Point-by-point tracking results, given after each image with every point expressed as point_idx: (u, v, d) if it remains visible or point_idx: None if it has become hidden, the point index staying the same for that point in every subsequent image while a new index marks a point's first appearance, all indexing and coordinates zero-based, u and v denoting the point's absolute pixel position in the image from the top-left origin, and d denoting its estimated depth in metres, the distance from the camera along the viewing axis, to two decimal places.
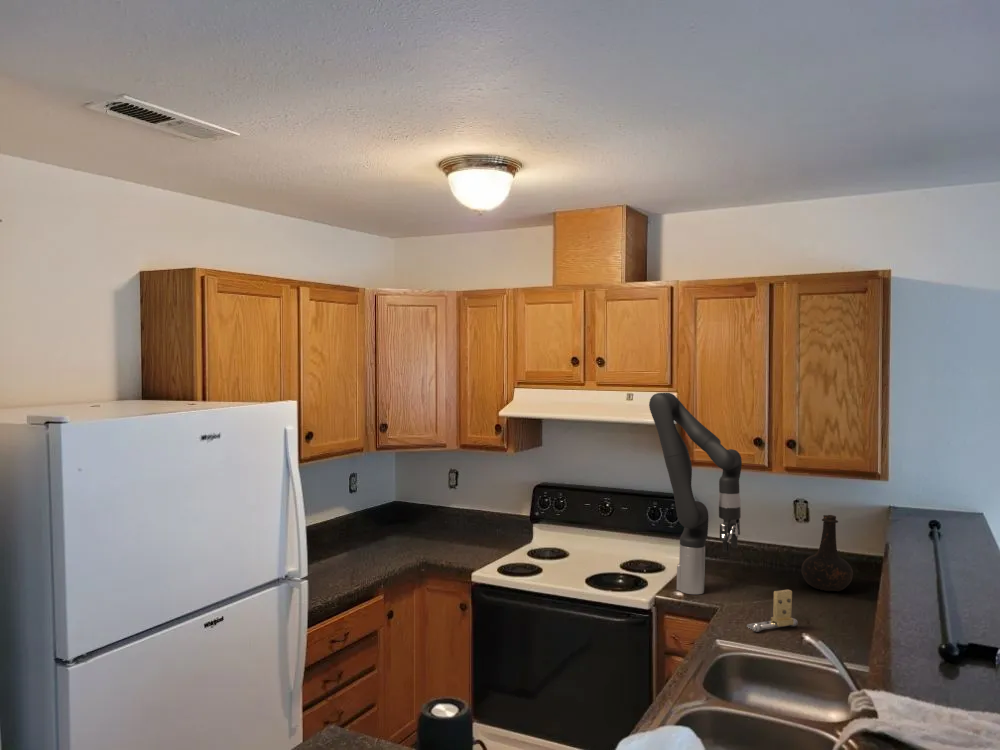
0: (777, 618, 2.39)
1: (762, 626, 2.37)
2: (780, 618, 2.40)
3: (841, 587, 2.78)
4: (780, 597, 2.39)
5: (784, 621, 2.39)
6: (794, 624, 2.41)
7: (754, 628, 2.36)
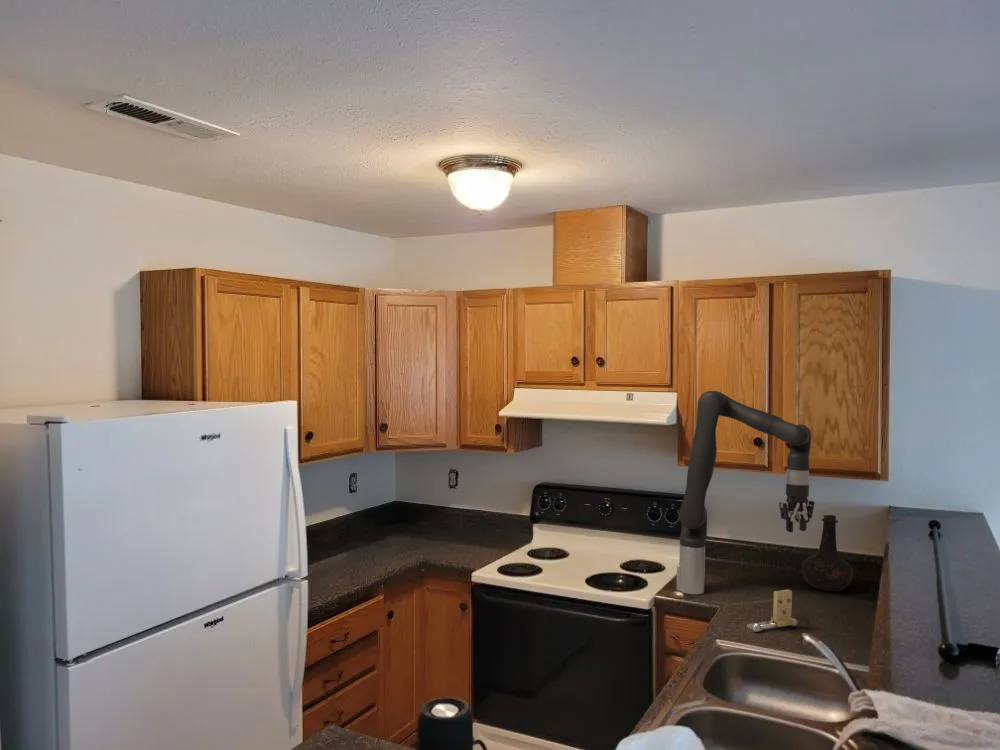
0: (777, 618, 2.39)
1: (762, 626, 2.37)
2: (780, 618, 2.40)
3: (841, 587, 2.78)
4: (780, 597, 2.39)
5: (784, 621, 2.39)
6: (794, 624, 2.41)
7: (754, 628, 2.36)
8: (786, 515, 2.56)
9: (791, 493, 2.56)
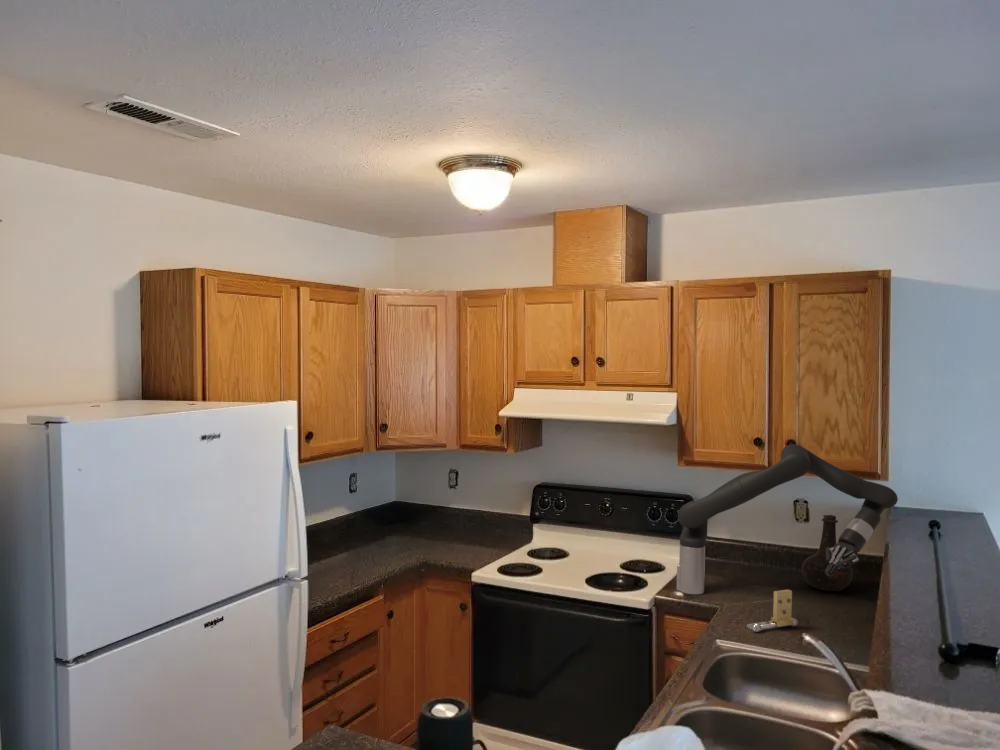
0: (777, 618, 2.39)
1: (762, 626, 2.37)
2: (780, 618, 2.40)
3: (841, 587, 2.78)
4: (780, 597, 2.39)
5: (784, 621, 2.39)
6: (794, 624, 2.41)
7: (754, 628, 2.36)
8: None
9: (860, 546, 2.48)
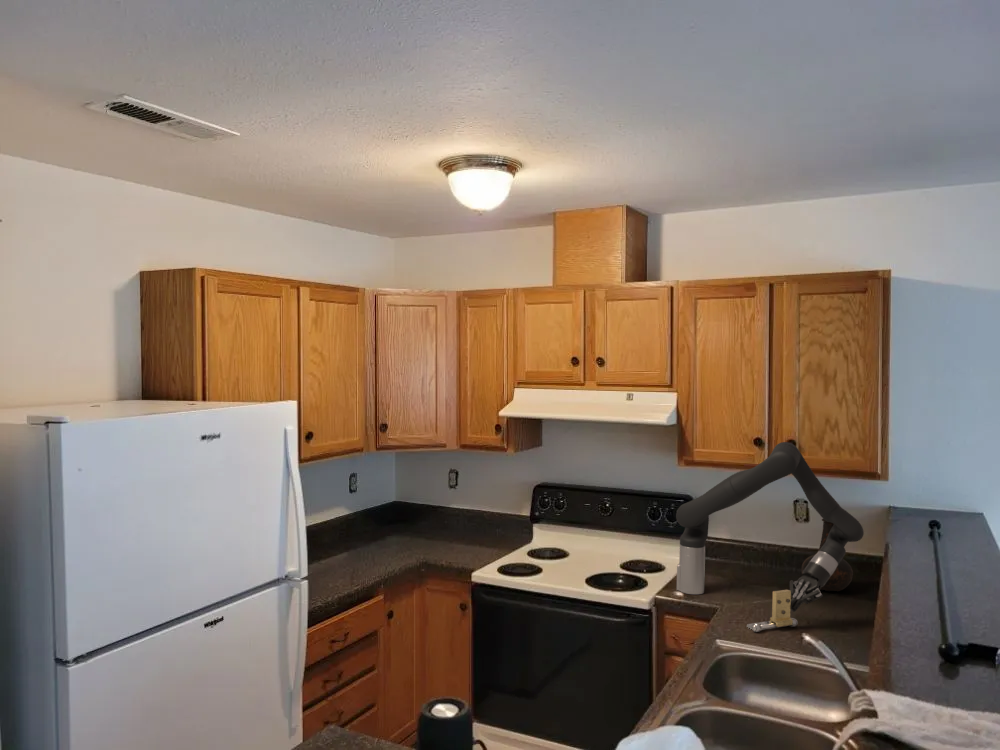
0: (776, 618, 2.39)
1: (762, 626, 2.37)
2: (779, 618, 2.39)
3: (841, 587, 2.78)
4: (779, 597, 2.39)
5: (783, 621, 2.39)
6: (794, 624, 2.41)
7: (754, 628, 2.36)
8: None
9: (824, 581, 2.42)
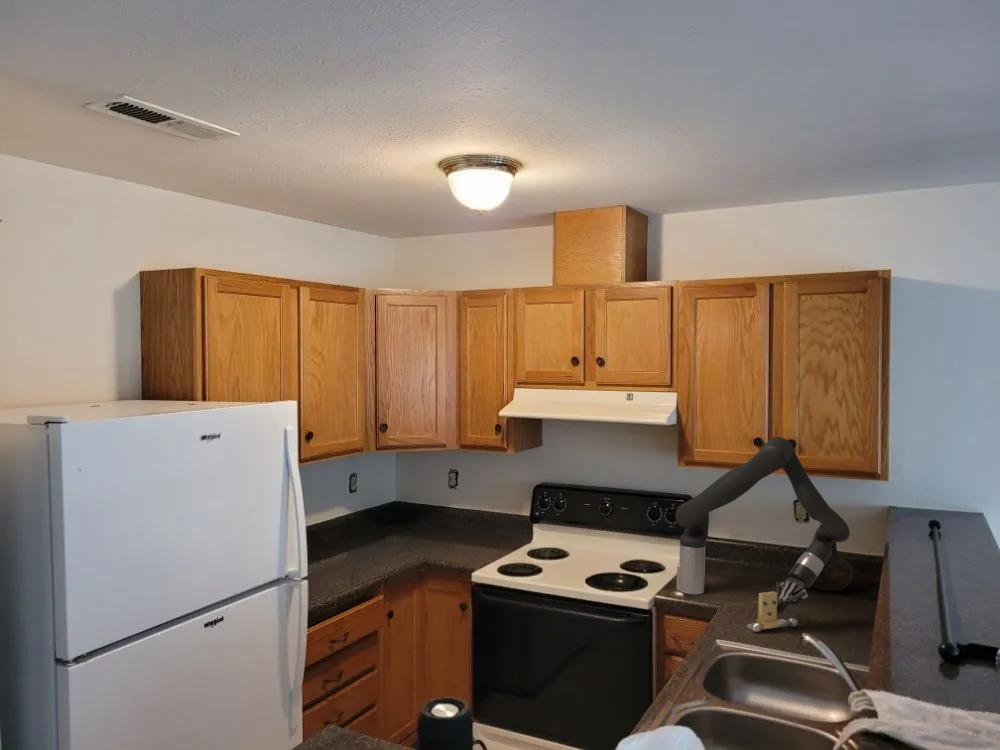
0: (762, 620, 2.37)
1: None
2: (765, 620, 2.37)
3: (841, 587, 2.78)
4: (765, 599, 2.37)
5: (769, 623, 2.37)
6: (794, 624, 2.41)
7: (754, 628, 2.36)
8: None
9: (811, 582, 2.40)
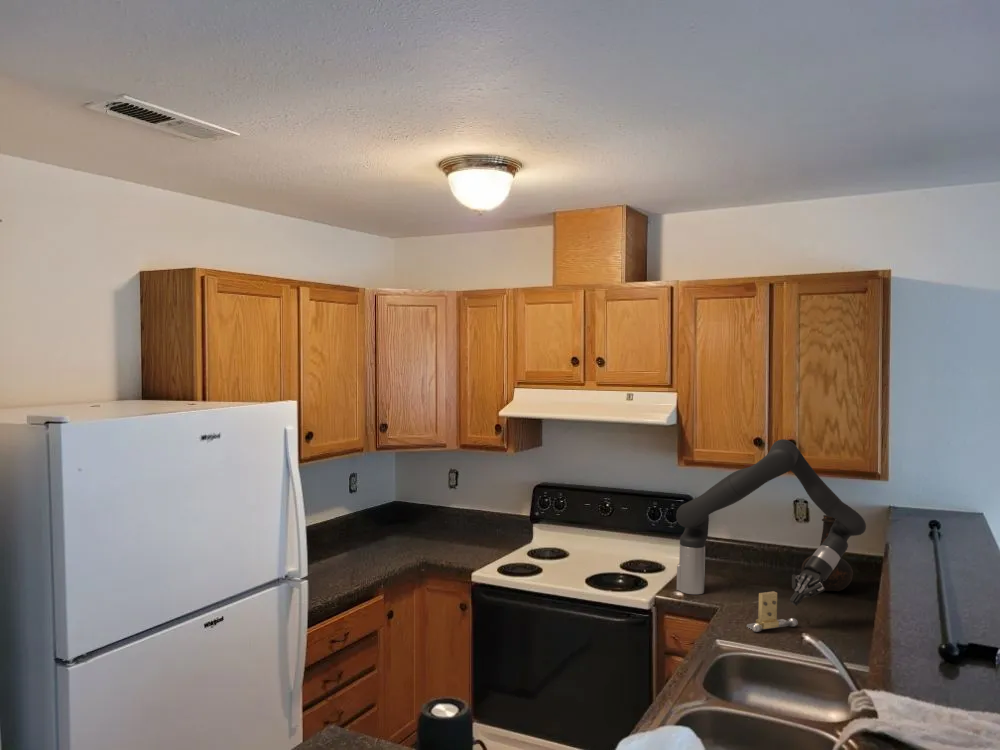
0: (762, 620, 2.37)
1: None
2: (765, 620, 2.37)
3: (841, 587, 2.78)
4: (765, 599, 2.37)
5: (769, 623, 2.37)
6: (794, 624, 2.41)
7: (754, 628, 2.36)
8: None
9: (827, 575, 2.42)
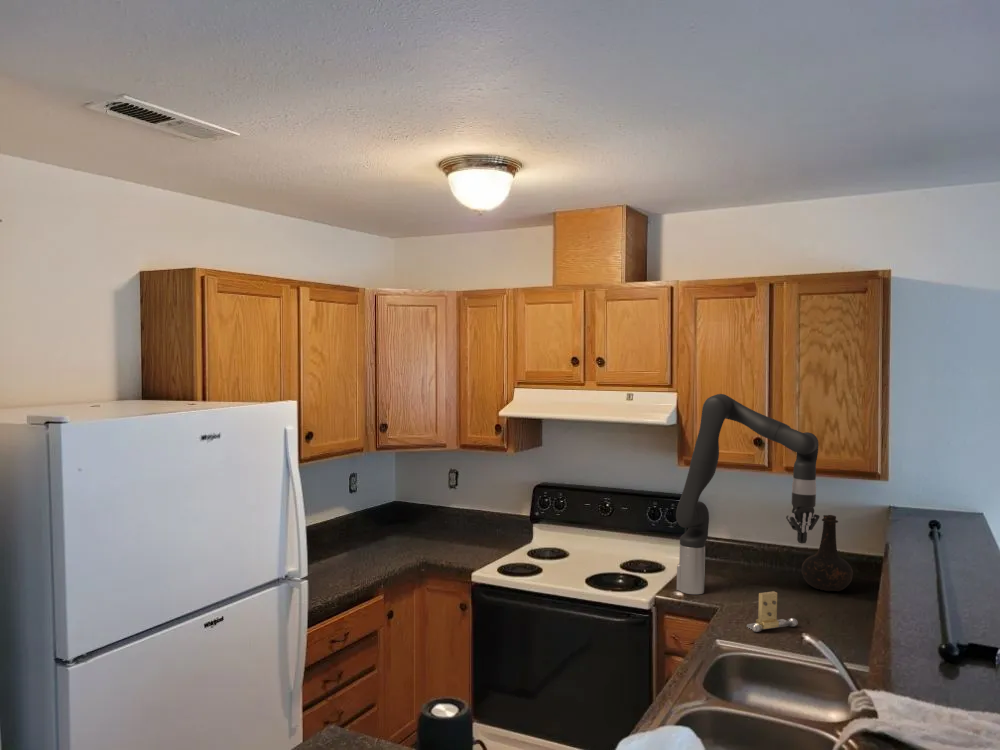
0: (762, 620, 2.37)
1: None
2: (765, 620, 2.37)
3: (841, 587, 2.78)
4: (765, 599, 2.37)
5: (769, 623, 2.37)
6: (794, 624, 2.41)
7: (754, 628, 2.36)
8: (797, 527, 2.50)
9: (797, 502, 2.50)
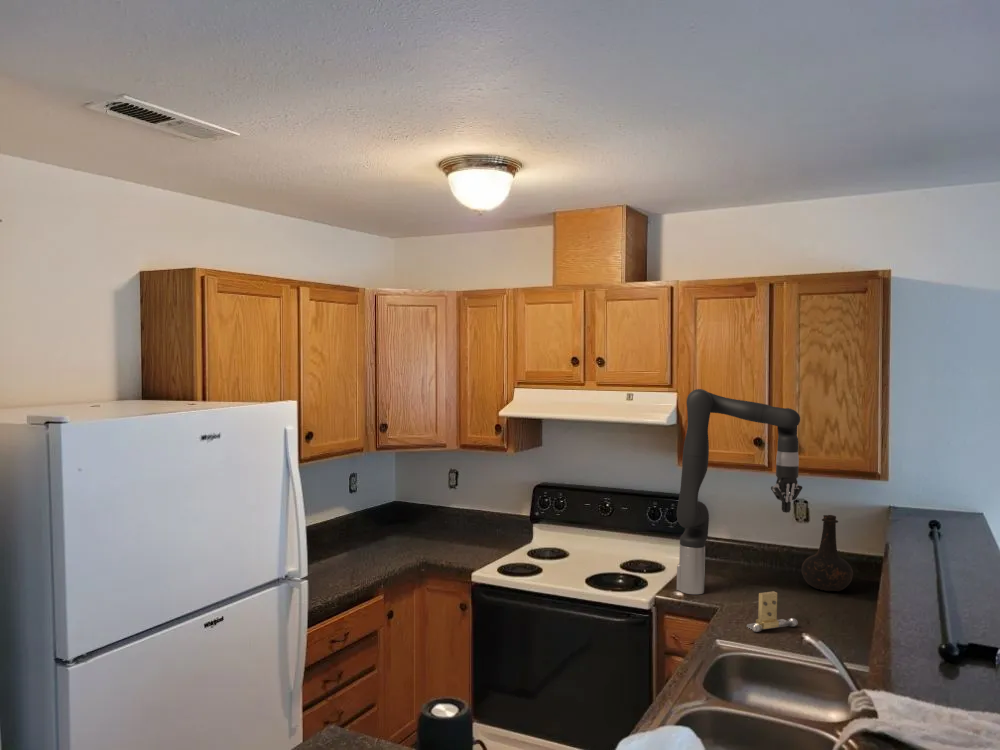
0: (762, 620, 2.37)
1: None
2: (765, 620, 2.37)
3: (841, 587, 2.78)
4: (765, 599, 2.37)
5: (769, 623, 2.37)
6: (794, 624, 2.41)
7: (754, 628, 2.36)
8: (781, 497, 2.66)
9: (781, 474, 2.66)
